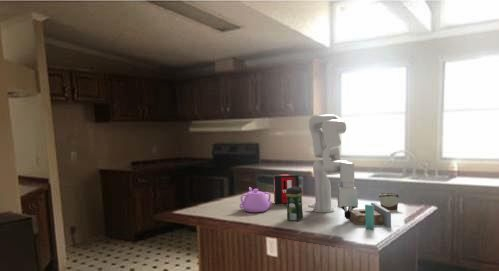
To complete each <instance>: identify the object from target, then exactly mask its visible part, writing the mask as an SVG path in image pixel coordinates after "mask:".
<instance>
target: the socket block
mask: <svg viewBox="0 0 499 271" xmlns="http://www.w3.org/2000/svg"><path fill="white" fill-rule="evenodd" d="M349 220H350V221H351V222H352V223H354V224H355V225H356V226H366V222H365V208H362V209H360V208H359V209H357V208H354V209H353V210H352V211H351V217H350V219H349ZM376 225H377V226H378V225H383V215H382V214H381V213H379V212H378V211H376V210H375V209H374V226H376Z"/></svg>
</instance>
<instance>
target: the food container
mask: <svg viewBox="0 0 499 271" xmlns="http://www.w3.org/2000/svg"><path fill="white" fill-rule="evenodd" d="M378 198H379V202H380V204H379V205H380V206H382V207H383V208H385V209H387V210H389V211H398V205H399V198H400V195H399V193H395V192H381V193H379V194H378Z"/></svg>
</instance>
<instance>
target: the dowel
mask: <svg viewBox="0 0 499 271" xmlns="http://www.w3.org/2000/svg"><path fill="white" fill-rule="evenodd" d="M364 209H365V222H366V225H365V229H366V230H368V231H372V230H375V225H374V205H371V203H369V204H365V205H364Z"/></svg>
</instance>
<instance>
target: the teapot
mask: <svg viewBox="0 0 499 271" xmlns="http://www.w3.org/2000/svg"><path fill="white" fill-rule="evenodd" d="M248 189H249V190H248V192H247V193H244V194H241V195H240V202H241V203H239V208H240V209H244V211H245V212H249V213H251V214H252V213H253V214H254V213H261V212H266V211H267V210H268V209H269V208H270V207H271V206H272V205H273V202H272V201H271V198H272V197H271V193H270V192H268V191H265V192H263V191H260V190H259V189H258V188H254V189H253V188H252V187H251V186H249V187H248ZM266 194H267V195H268V197H267V195H266ZM243 197H244V199H243Z"/></svg>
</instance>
